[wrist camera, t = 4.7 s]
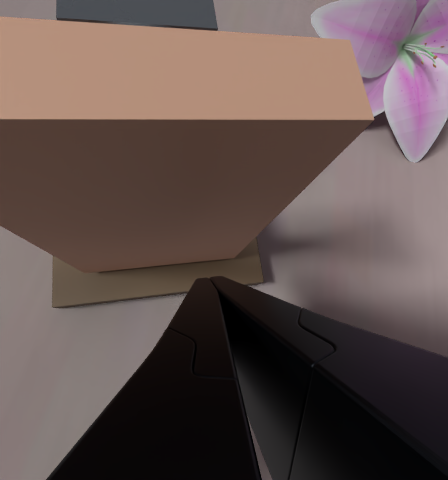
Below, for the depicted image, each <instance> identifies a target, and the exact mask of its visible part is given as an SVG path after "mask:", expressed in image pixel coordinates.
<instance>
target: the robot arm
mask: <svg viewBox="0 0 448 480" xmlns="http://www.w3.org/2000/svg"><path fill="white" fill-rule="evenodd" d="M247 416H248V418H247ZM248 419H249V421H250V424H251V426H252V429H253V431H254V434H255V436H256V439H257V441H258V444H259V446H260V449H261V452H262V454H263V457H264V459H265V462H266V464H267V467H268V469H269V472H270V474H271V477H272V479H273V480H448V357H445V356H442V355H439V354H436V353H433V352H430V351H427V350H424V349H421V348H418V347H415V346H412V345H409V344H406V343H402V342H399V341H396V340H393V339H390V338H387V337H384V336H381V335H378V334H375V333H372V332H369V331H366V330H363V329H360V328H356V327H353V326H350V325H348V324H345V323H342V322H339V321H336V320H333V319H330V318H327V317H325V316H322V315H320V314H317V313H314V312H312V311H309V310H307V309H304V308H302V309H301V308H300V307H298V306H296V305H293V304H291V303H288V302H286V301H283V300H281V299H278V298H276V297H273V296H271V295H268V294H266V293H263V292H261V291H258V290H256V289H253V288H251V287H248V286H246V285H243V284H241V283H239V282H236V281H234V280H231V279H229V278H226V277H224V276H214V277H210V278H208V277H205V278H197V279H196V280H195V281H194V283H193V285H192V286H191V288H190V290H189V292H188V293H187V295H186V297H185V298H184V300H183V302H182V303H181V305H180V307H179V309H178V310H177V312H176V314H175V315H174V317H173V319H172V320H171V322H170V324H169V326H168V327H167V329H166V330H165V332H164V333H163V335H162V337H161V338H160V340H159V341H158V343H157V344H156V346H155V347H154V349H153V350H152V352H151V353H150V354H149V355H148V357H147V358H146V359H145V361H144V362H143V363H142V364H141V366H140V367H139V368H138V369H137V370H136V372H135V373H134V374H133V375H132V377H131V378H130V379H129V380H128V381H127V383H126V384H125V385H124V386H123V387H122V389H121V390H120V391H119V392H118V393H117V395H116V396H115V397H114V398H113V399H112V401H111V402H110V403H109V404H108V405H107V407H106V408H105V409H104V410H103V412H102V413H101V414H100V415H99V416H98V418H97V419H96V420H95V421H94V422H93V424H92V425H91V426H90V427H89V428H88V430H87V431H86V432H85V433H84V434H83V436H82V437H81V438H80V439H79V440H78V442H77V443H76V444H75V445H74V447H73V448H72V449H71V450H70V451H69V453H68V454H67V455H66V456H65V457H64V459H63V460H62V461H61V462H60V463H59V465H58V466H57V467H56V468H55V469H54V471H53V472H52V473H51V474H50V475H49V477H48V478H47V479H46V480H262V478H261V474H260V469H259V465H258V461H257V456H256V452H255V448H254V443H253V439H252V435H251V431H250V426H249V422H248Z"/></svg>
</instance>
